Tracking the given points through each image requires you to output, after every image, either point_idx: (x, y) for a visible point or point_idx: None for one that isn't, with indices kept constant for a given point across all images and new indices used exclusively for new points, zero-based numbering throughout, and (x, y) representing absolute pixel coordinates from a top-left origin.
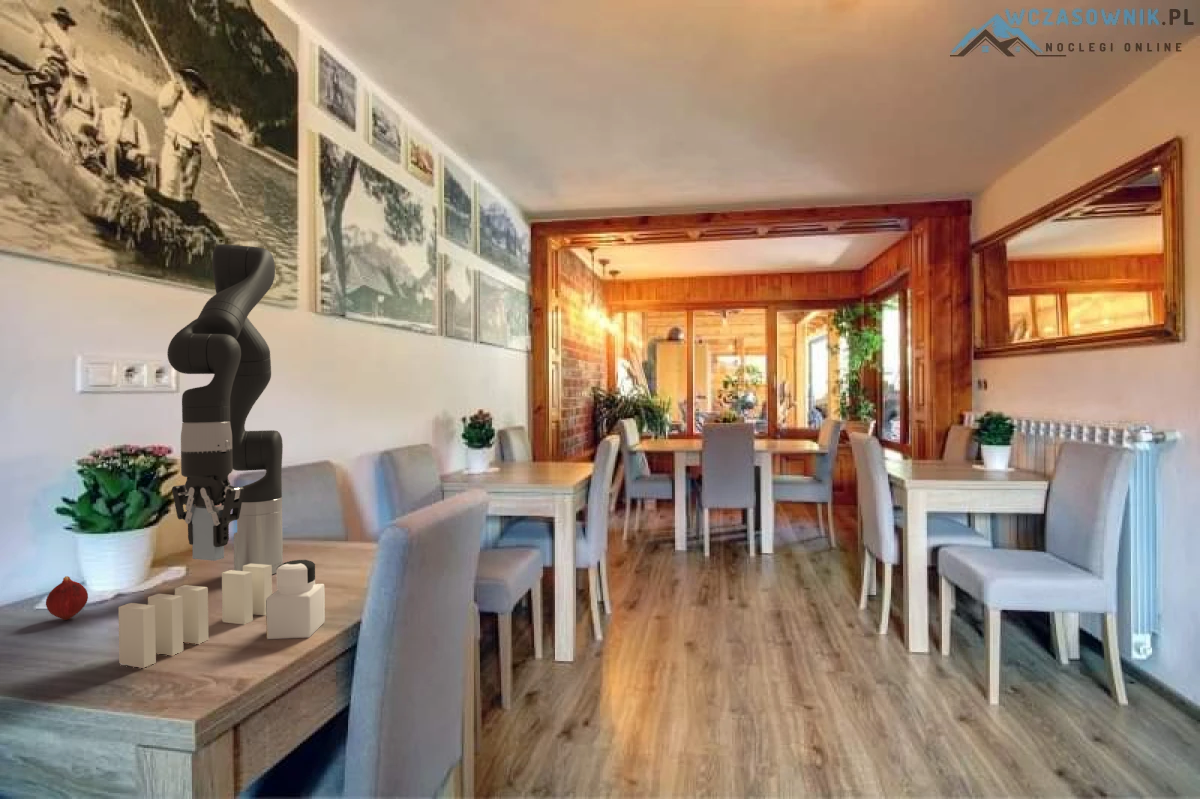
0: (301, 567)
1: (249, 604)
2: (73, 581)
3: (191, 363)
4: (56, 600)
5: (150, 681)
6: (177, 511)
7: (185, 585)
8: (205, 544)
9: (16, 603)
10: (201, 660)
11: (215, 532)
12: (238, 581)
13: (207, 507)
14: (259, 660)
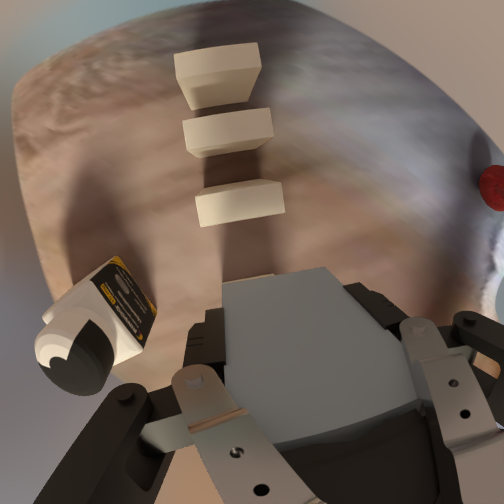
0: (36, 353)
1: None
2: None
3: None
4: (498, 168)
5: (134, 78)
6: (495, 326)
7: (279, 211)
8: (275, 302)
9: None
10: (133, 153)
11: (208, 341)
12: None
13: (254, 439)
14: (59, 199)
